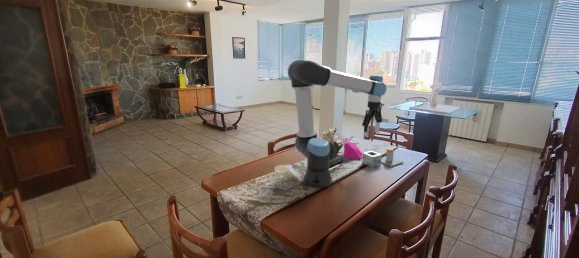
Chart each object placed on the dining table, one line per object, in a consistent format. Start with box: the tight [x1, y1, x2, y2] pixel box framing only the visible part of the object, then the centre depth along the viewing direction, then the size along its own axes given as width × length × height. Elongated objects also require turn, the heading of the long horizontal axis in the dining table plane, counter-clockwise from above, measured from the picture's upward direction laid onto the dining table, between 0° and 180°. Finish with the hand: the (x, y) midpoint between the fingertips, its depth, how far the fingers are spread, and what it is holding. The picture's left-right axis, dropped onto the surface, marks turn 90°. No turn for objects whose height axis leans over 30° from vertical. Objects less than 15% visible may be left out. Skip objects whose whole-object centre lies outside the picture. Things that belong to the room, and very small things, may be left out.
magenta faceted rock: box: [343, 140, 364, 160], centre depth 183 cm, size 12×10×10 cm
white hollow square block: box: [361, 150, 383, 168], centre depth 170 cm, size 8×8×7 cm
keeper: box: [381, 147, 404, 168], centre depth 172 cm, size 12×12×9 cm
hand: (371, 134), depth 169 cm, fingers open, 13 cm apart
